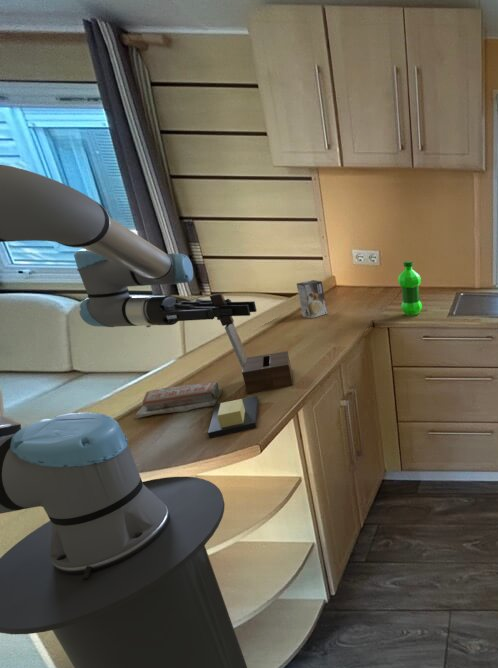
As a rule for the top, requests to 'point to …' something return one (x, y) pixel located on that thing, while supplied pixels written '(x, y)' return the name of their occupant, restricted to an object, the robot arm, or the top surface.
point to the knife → (230, 329)
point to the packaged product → (179, 399)
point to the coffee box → (312, 298)
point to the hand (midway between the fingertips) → (251, 308)
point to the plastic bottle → (410, 289)
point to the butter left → (224, 414)
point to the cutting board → (248, 423)
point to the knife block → (267, 372)
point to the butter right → (237, 412)
